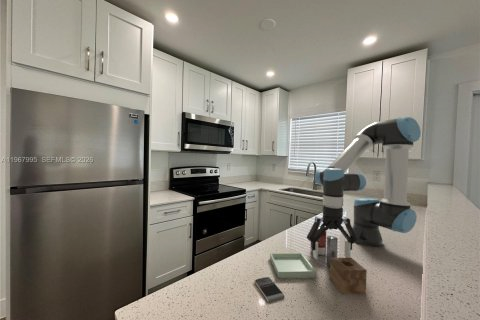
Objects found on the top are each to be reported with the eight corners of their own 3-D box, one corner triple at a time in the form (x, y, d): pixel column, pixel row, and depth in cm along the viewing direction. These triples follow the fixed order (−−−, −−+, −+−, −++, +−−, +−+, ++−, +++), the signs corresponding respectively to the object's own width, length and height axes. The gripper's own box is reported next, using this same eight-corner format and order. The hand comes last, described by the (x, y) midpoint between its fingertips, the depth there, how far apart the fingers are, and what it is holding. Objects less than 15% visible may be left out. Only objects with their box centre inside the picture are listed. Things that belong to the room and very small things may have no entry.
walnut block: (350, 279, 72) (351, 257, 72) (365, 294, 64) (366, 269, 64) (329, 279, 72) (330, 257, 72) (342, 294, 64) (343, 270, 64)
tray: (301, 258, 86) (301, 252, 86) (315, 277, 72) (316, 271, 72) (270, 258, 86) (270, 253, 86) (278, 278, 71) (278, 271, 71)
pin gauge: (333, 264, 82) (334, 235, 82) (338, 269, 78) (339, 239, 78) (324, 264, 82) (324, 235, 82) (329, 269, 78) (329, 239, 78)
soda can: (327, 257, 88) (327, 230, 88) (311, 255, 89) (312, 229, 89) (324, 250, 95) (324, 225, 94) (309, 248, 96) (309, 224, 96)
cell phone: (268, 279, 71) (268, 275, 71) (285, 300, 61) (285, 296, 61) (253, 283, 69) (253, 279, 69) (268, 305, 59) (268, 300, 59)
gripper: (355, 204, 84) (354, 253, 84) (299, 203, 83) (298, 253, 83) (368, 208, 77) (366, 262, 77) (306, 208, 75) (305, 262, 75)
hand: (331, 257), depth 80 cm, fingers open, 13 cm apart
